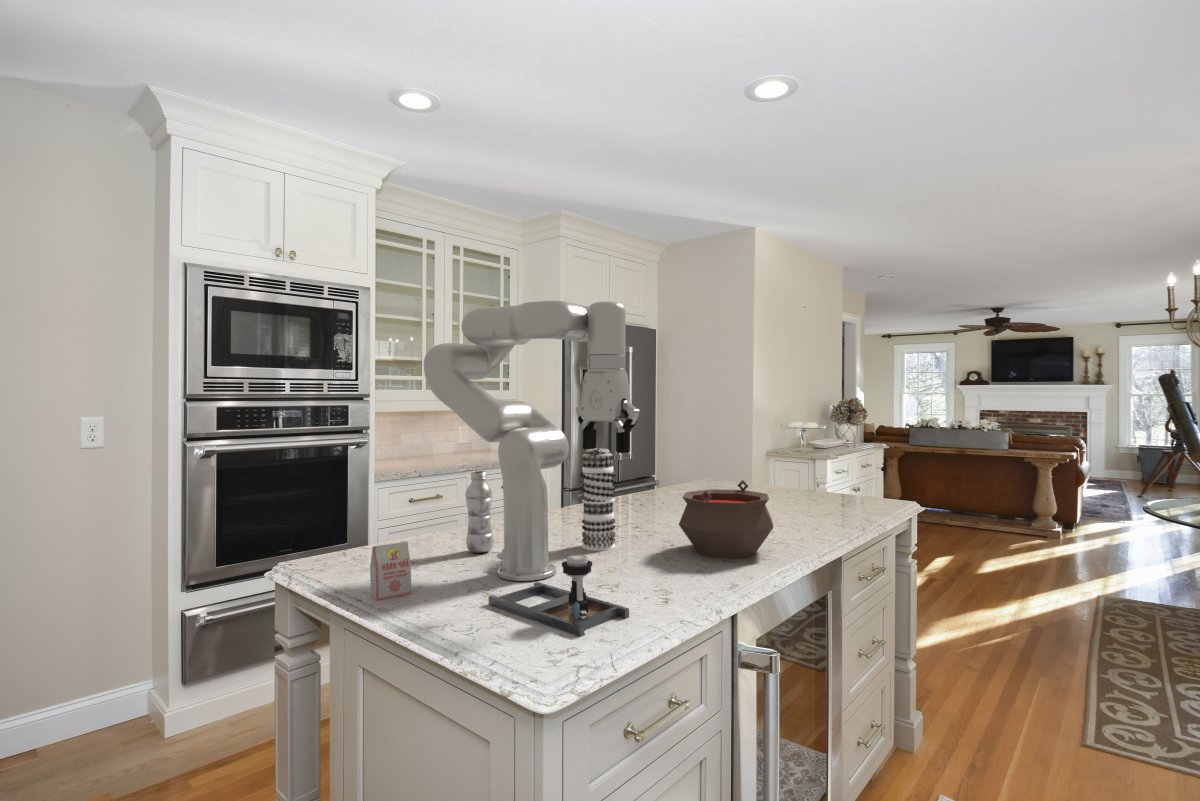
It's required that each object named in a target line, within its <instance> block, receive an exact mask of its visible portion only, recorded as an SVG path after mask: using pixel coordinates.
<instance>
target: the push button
mask: <svg viewBox="0 0 1200 801" xmlns="http://www.w3.org/2000/svg"><path fill="white" fill-rule="evenodd" d="M592 566H593V562H592V561H591V560H588V556H587V555H583V554H573V555H572V554H571V555H569V556H567V557H566V560H564V561H562V562H561V567H562V573H563V574H564V575H565V574H566V575H567V577H570V578H571V586H570V592H571V593H569V615H570V616H571V614H572V615H573V616H574V617H575V618H576V619H583V618H585V617H586V614H587V612H588V602H587V601H586V596H587V592H585V588H584V582H583V581H584V580H583V579H584V578H585V577H586V576H587V575H588V574H589V573H592Z"/></svg>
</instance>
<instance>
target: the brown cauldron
mask: <svg viewBox="0 0 1200 801" xmlns="http://www.w3.org/2000/svg"><path fill="white" fill-rule="evenodd" d="M742 485H744V487H743V486H742ZM737 487H739V489H718V488H717V489H713V488H711V489H701V490H694V491H692V490H691V491H686V492H685V493H684V494H683V496H682V499H683V500H684V502H685V503H686V504H685V505H686V506H685V507H684V510H683V513H682V514H681V518H680V520H679V523H678V526H679V527H680V529H681V530H682V532H683V533H684V534H685V536H686V537H687V539H688V540H689V541H690V544H692V546H693V547H694V549H695V550H696V552H697V553H698V554H702V555H705V556H708V557H711V558H716V559H717V558H719V559H720V558H721V559H722V558H723V559H724V558H725V559H741V558H747V557H751V556H755V555H756V553H757V552H758V550H759V549H760V547H761V546H762V544H763V543H764V542H765V541H766V539H767V538H768V536H769V534H771V532H772V531H773V529H774V522H773V518H772V516H771V514H770V512H769V509H768V507H767V505H766V504H767V503H768V501H769V500H770V497H769V494H768V493H763V492H758V491H753V490H747V488H749V485H748V484H747V483H746V482H745V480H744V479H742V480H741V481H740V482H739V483H738V484H737Z"/></svg>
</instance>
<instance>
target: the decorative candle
mask: <svg viewBox="0 0 1200 801" xmlns="http://www.w3.org/2000/svg"><path fill="white" fill-rule="evenodd" d="M581 456H582V469H581V470H582V471H581V472H579V476H580V477H581V480H580V485H581V486H580V491H581V492H583V493H582V494H581V495H580V496H581V497H580V498H581V502H582V503H583V512H582V520H581V523H582V524H583V525H582V527H581V529H582V530H583V531H582V533H581V536H582V539H581V542H582V545H581V546H582V550H583V549H584V550H585V551H594V552H603V551H611V550H613V549H615V548H616V544H615V543H616V538H615V537H616V532H615V531H614V530H615V528H616V525H614V524H615V523H616V519H615V512H614V502H615V501H616V499H615V498H614V497H616V494H615V493H614V491H616V488H615V487H614V486H613V484H614V483H616V481H617V480H616V479H614V478H616V475H617V474H616V473H615V472H614V466H613V456H614V454H612V453H611V451H610V449H608V448H602V447H599V448H597V447H596V448H595V449H585V451H584V453H583V454H581Z"/></svg>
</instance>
